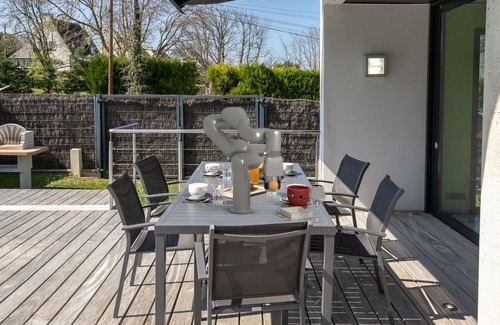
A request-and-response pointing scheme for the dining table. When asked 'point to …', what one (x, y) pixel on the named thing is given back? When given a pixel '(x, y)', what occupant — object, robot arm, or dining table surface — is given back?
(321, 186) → the wineglass
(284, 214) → the tray
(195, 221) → the dining table surface
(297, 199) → the plant pot
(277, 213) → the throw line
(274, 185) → the ball
